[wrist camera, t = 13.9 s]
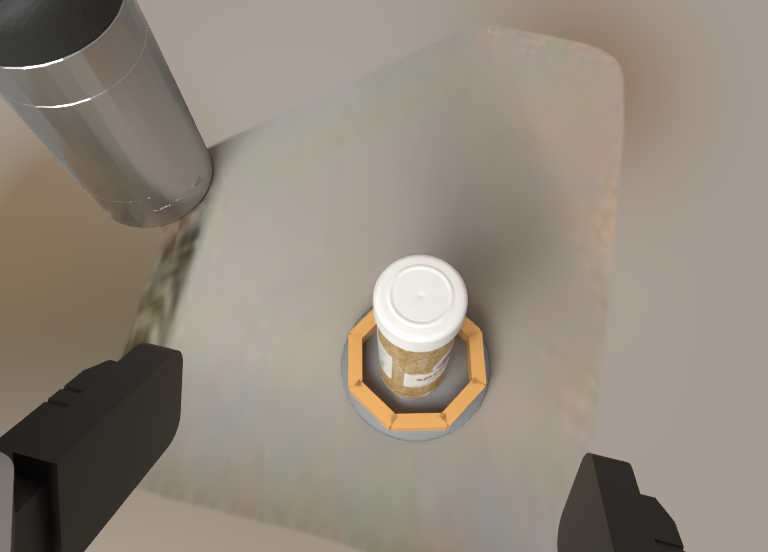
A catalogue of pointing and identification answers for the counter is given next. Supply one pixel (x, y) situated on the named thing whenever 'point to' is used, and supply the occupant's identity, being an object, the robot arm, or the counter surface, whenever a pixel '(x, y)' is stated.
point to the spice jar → (417, 322)
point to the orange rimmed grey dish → (419, 414)
